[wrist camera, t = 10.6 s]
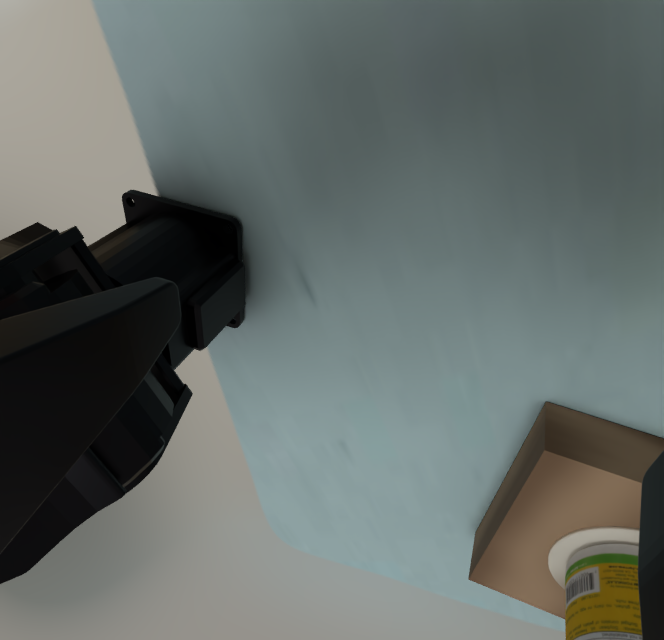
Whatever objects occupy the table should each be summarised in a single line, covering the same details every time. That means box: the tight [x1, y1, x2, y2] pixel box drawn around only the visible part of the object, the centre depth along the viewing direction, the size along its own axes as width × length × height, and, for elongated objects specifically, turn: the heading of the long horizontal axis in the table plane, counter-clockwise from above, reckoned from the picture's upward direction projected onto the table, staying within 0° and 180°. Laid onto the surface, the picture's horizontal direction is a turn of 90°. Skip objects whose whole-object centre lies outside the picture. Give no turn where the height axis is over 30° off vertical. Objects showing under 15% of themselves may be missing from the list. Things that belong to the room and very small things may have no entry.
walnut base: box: [469, 402, 664, 619], centre depth 24 cm, size 12×12×3 cm
